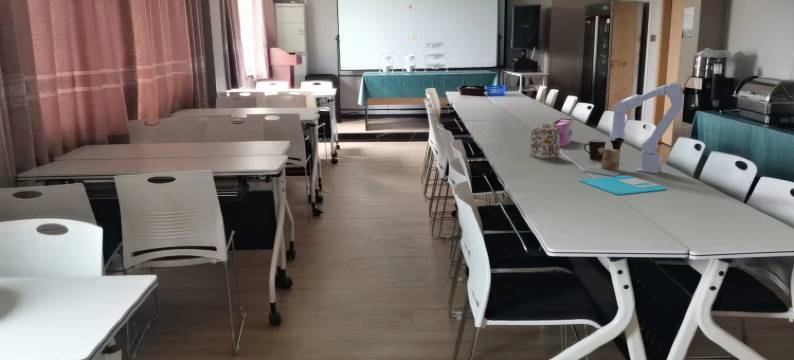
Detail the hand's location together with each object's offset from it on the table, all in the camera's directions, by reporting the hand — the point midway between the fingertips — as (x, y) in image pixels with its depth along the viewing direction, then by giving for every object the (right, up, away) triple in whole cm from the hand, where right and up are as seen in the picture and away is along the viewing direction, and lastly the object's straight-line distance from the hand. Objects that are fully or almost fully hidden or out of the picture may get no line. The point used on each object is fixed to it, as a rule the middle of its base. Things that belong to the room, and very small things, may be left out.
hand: (616, 152), depth 308 cm
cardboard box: (-4, -8, -3) cm, 10 cm away
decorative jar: (-29, -1, +29) cm, 41 cm away
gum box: (-9, +9, +69) cm, 70 cm away
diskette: (-9, -17, -34) cm, 39 cm away
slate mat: (-9, -10, -9) cm, 17 cm away
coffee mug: (-4, -2, +22) cm, 23 cm away
